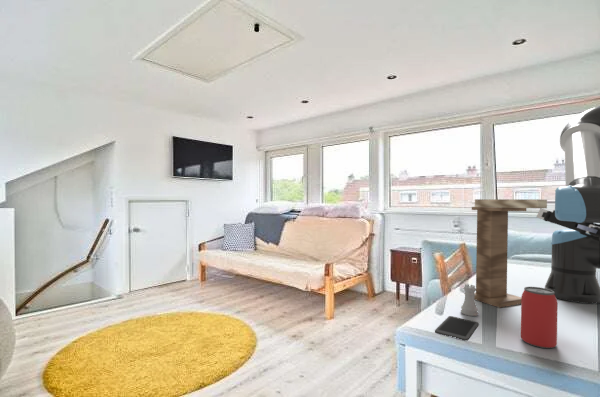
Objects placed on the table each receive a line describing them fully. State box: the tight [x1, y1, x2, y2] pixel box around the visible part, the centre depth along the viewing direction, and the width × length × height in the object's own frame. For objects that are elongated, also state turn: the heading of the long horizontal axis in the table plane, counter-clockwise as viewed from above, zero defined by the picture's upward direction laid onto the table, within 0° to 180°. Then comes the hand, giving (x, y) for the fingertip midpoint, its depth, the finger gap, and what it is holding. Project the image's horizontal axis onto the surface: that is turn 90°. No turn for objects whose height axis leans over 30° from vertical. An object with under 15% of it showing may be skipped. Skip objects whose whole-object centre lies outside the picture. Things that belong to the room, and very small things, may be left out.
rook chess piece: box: [460, 283, 479, 317], centre depth 92 cm, size 4×4×8 cm
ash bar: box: [474, 198, 548, 209], centre depth 101 cm, size 20×4×2 cm, turn 24°
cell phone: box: [434, 315, 480, 341], centre depth 81 cm, size 7×14×1 cm, turn 141°
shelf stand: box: [471, 206, 527, 309], centre depth 104 cm, size 10×12×30 cm
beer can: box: [520, 286, 559, 349], centre depth 73 cm, size 7×7×12 cm
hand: (563, 220), depth 91 cm, fingers open, 13 cm apart
